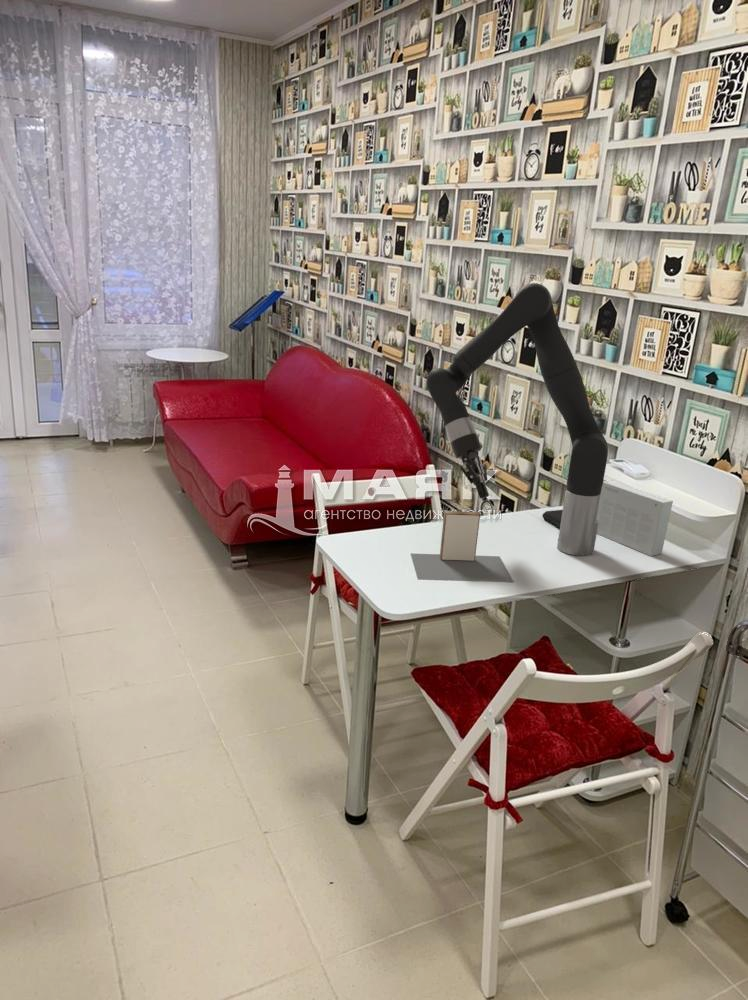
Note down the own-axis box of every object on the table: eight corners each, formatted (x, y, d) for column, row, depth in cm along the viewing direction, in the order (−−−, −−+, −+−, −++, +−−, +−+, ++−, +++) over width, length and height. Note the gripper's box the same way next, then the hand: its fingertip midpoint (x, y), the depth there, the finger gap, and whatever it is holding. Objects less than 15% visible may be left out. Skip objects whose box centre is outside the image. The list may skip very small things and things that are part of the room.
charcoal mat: (499, 558, 201) (499, 556, 201) (513, 584, 186) (514, 582, 186) (410, 555, 199) (410, 553, 199) (417, 581, 184) (417, 579, 184)
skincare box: (663, 553, 212) (674, 500, 207) (651, 557, 209) (662, 503, 204) (603, 529, 228) (612, 479, 223) (591, 531, 225) (600, 481, 220)
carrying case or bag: (597, 533, 225) (567, 516, 238) (598, 523, 224) (568, 507, 237) (567, 536, 221) (539, 519, 234) (569, 526, 220) (540, 509, 233)
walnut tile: (473, 558, 198) (478, 512, 194) (474, 561, 196) (480, 514, 192) (439, 557, 198) (444, 510, 193) (440, 560, 196) (445, 513, 191)
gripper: (465, 430, 196) (487, 492, 193) (484, 433, 208) (506, 492, 205) (440, 442, 200) (462, 503, 197) (461, 444, 211) (482, 501, 208)
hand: (484, 497), depth 201 cm, fingers closed
